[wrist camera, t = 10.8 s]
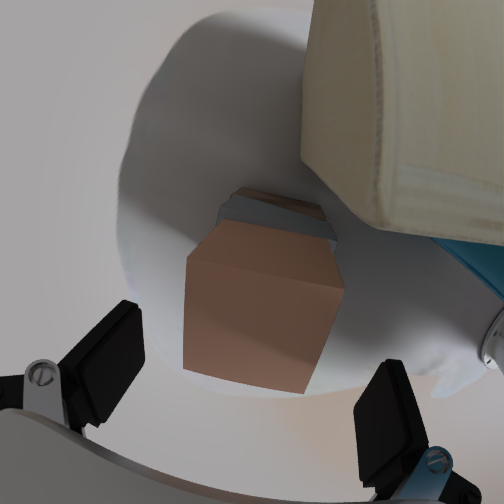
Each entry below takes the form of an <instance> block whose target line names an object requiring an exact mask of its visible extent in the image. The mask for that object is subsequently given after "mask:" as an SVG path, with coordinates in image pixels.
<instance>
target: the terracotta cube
mask: <svg viewBox="0 0 504 504" xmlns="http://www.w3.org/2000/svg"><path fill="white" fill-rule="evenodd" d="M344 291H345V288H344V285H343V282H342V279H341V276H340V273H339V270H338V267H337V264H336V261H335V259H334V256H333V253H332V250H331V247H330V245H329V242H328V239H323V238H319V237H314V236H309V235H304V234H299V233H294V232H290V231H285V230H280V229H275V228H269V227H264V226H259V225H254V224H249V223H243V222H238V221H233V220H227V219H223V220H222V221H221V222H220V223H219V224H218V225H217V227H216V228H215V229H214V230H213V231H212V232H211V233H210V234H209V235H208V236H207V237H206V238H205V239H204V240H203V241H202V242H201V243H200V244H199V245H198V246H197V247H196V248H195V249H194V251H193V252H192V253H191V254H190V255H189V256H188V257H187V264H186V281H185V301H184V332H183V369H186V370H190V371H193V372H197V373H201V374H205V375H208V376H212V377H216V378H220V379H225V380H229V381H233V382H238V383H243V384H247V385H252V386H257V387H263V388H268V389H274V390H280V391H286V392H292V393H299V394H304V392H305V390H306V388H307V385H308V383H309V381H310V379H311V376H312V374H313V372H314V370H315V367H316V365H317V363H318V360H319V358H320V355H321V353H322V350H323V348H324V345H325V343H326V340H327V338H328V335H329V333H330V330H331V327H332V325H333V322H334V319H335V317H336V314H337V311H338V308H339V306H340V303H341V300H342V297H343V294H344Z"/></svg>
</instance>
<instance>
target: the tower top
mask: <svg viewBox="0 0 504 504" xmlns="http://www.w3.org/2000/svg"><path fill="white" fill-rule="evenodd" d="M223 219H227V220H233V221H238V222H243V223H249V224H254V225H259V226H264V227H269V228H275V229H280V230H285V231H290V232H294V233H299V234H304V235H309V236H314V237H319V238H323V239H328V242H329V245H330V247H331V250H332V253H333V255H334V252H335V250H336V247H337V245H338V241H337V238H336V236H335V234H334V232H333V230H332V228H331V226H330V224H329V222H326V221H323V220H320V219H317V218H313V217H310V216H307V215H304V214H301V213H298V212H295V211H291V210H288V209H285V208H282V207H278V206H275V205H272V204H268V203H265V202H262V201H258V200H255V199H251V198H248V197H244V196H241V195H237V194H235V195H234V196H233V197H232V198H230V199H229V200H228V201H226V202H225V203H224V204H223V205H221V206H220V210H219V214H218V219H217V223H216V227H217V225H218V224H219V223H220V222H221V221H222V220H223ZM216 227H215V228H216Z"/></svg>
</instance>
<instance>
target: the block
mask: <svg viewBox="0 0 504 504" xmlns="http://www.w3.org/2000/svg"><path fill="white" fill-rule="evenodd" d="M430 238H432V239H433V240H434V241H435V242H436V243H437V244H439V245H440V246H441V247H442V248H444V249H445V250H446V251H447V252H449V253H450V254H451V255H452V256H453V257H455V258H456V259H457V260H458V261H459V262H461V263H462V264H463V265H464V266H465V267H466V268H467V269H469V270H470V271H471V272H472V273H473V274H474V275H475V276H476V277H478V278H479V279H480V280H481V281H482V282H483V283H484V284H485V285H486V286H487V287H489V288H490V289H491V290H492V291H493V292H494V293H495V294H496V295H497V296H498V297H499V298H500V299H501V300H502V301H503V302H504V246H500V245H493V244H484V243H476V242H468V241H460V240H453V239H445V238H437V237H430Z"/></svg>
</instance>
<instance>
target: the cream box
mask: <svg viewBox="0 0 504 504" xmlns="http://www.w3.org/2000/svg"><path fill="white" fill-rule="evenodd" d="M300 159H301V160H302V161H303V162H304V163H305V164H306V165H307V166H308V167H309V168H310V169H311V170H313V172H314V173H315V174H316V175H317V176H318V177H319V178H320V179H321V180H322V181H323V182H324V183H325V184H326V185H327V186H328V187H329V188H330V189H331V190H332V191H333V192H334V193H335V194H336V195H337V196H338V198H339V199H340V200H341V201H342V202H343V203H344V204H345V205H346V206H347V207H348V208H349V209H350V211H351V212H352V213H354V214H355V215H356V216H357V217H358V218H359V219H360V220H362V221H363V222H365V223H366V224H368V225H369V226H372V227H374V228H376V229H378V230H385V231H392V232H399V233H406V234H412V235H419V236H428V237H437V238H445V239H453V240H460V241H468V242H476V243H484V244H493V245H500V246H504V0H314V6H313V12H312V18H311V25H310V31H309V37H308V44H307V51H306V57H305V63H304V69H303V78H302V122H301V151H300Z"/></svg>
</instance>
